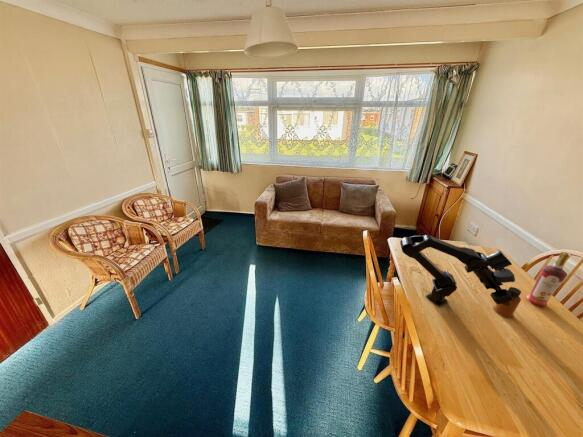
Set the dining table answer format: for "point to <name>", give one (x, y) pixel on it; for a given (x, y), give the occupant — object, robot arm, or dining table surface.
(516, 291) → the cap
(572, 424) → the dining table surface
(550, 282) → the liquor
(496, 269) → the robot arm
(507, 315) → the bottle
